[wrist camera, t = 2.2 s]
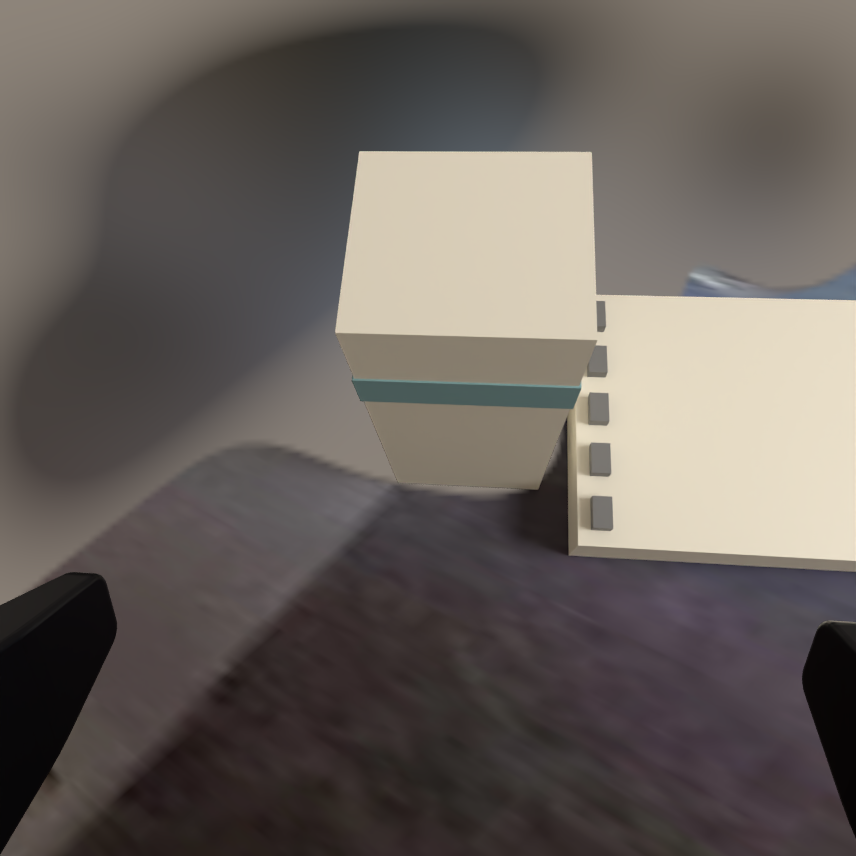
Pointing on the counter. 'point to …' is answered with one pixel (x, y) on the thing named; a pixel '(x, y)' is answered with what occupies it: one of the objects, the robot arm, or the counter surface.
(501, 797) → the counter surface
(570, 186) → the cream box
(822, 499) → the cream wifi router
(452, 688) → the counter surface
